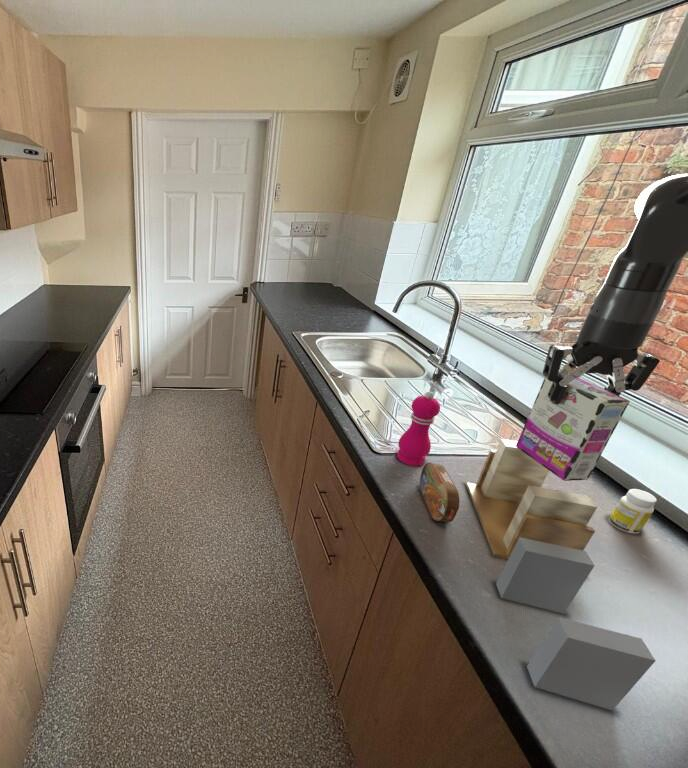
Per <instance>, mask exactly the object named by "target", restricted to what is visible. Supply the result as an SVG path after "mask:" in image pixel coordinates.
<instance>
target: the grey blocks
mask: <svg viewBox="0 0 688 768" xmlns="http://www.w3.org/2000/svg"><path fill="white" fill-rule="evenodd" d="M594 568H595V564H594V562H593V561H592V559H591V558H590V556H589V554H588V553H587V551H586V550H583V551H582V550H577V549H573V548H568V547H563V546H558V545H554V544H549V543H544V542H540V541H535V540H530V539H525V538H521V537H519V539H518V541H517V543H516V545H515V547H514V549H513V551H512V553H511V555H510V557H509V559H507V561H506V563H505V565H504V567H503V568H502V571H501V573H500V575H499V577H498V579H497V580H496V583H495V585H496V588H497V590H498V594H499V596H500V598H501V599H504V600H508V601H511V602H516V603H519V604H524V605H528V606H531V607H535V608H540V609H543V610H544V609H545V610H547V611H551V612H556V613H560V614H562V615H563V614H565V613H566V612H567V610H568V608H569V607H570V605H571V603H572V602H573V600H574V599H575V597H576V595H577V594H578V593H579V591H580V590H581V588H582V586H583V585H584V583H585V582H586V580H587V579H588V577H589V576H590V574H591V573H592V571H593V569H594ZM655 662H656V659H655V658H654V655H653V654H652V653H651V651H650V649H649V647H648V646H647V645H646V643H645V641H644V640H643V639H642V638H640V637H637V636H634V635H629V634H625V633H622V632H618V631H615V630H610V629H606V628H602V627H599V626H594V625H592V624H591V625H590V624H586V623H582V622H578V621H575V620H571V619H567V618H563V617H557V618H556V619H555V621H554V623H553V625H552V626H551V628H550V629H549V631H548V633H547V634H546V636H545V637H544V639H543V640H542V642H541V644H540V645H539V647H538V648H537V650H536V651H535V653H534V655H533V656H532V658H531V659H530V660H529V662H528V664H527V665H526V668H527V671H528V674H529V676H530V679H531V682H532V684H533V687H534V688H536V689H539V690H543V691H547V692H550V693H553V694H555V695H559V696H563V697H567V698H570V699H572V700H576V701H580V702H583V703H586V704H590V705H592V706H595V707H599V708H603V709H606V710H609V711H614V710H615V708H616V707H617V706H618V705H619V704H620V703H621V701H623V699H624V698H625V697H626V696H627V695H628V693H629V692H630V691H631V690H632V689H633V688H634V687H635V686H636V684H637V683H638V682H639V681H640V680H641V678H642V677H643V676H644V675H645V674H646V673H647V672H648V670H649V669H651V667H652V666H653V665H654V663H655Z"/></svg>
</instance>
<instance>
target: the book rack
mask: <svg viewBox="0 0 688 768" xmlns="http://www.w3.org/2000/svg"><path fill="white" fill-rule="evenodd" d="M517 442H518V440H512V439H505V438H500V440H499V443H498V445H497V448H496V449H489V452H488V454H487V456H486V459H485V461H484V464H483V466H482V469H481V471H480V473H479V476H478V479H477V481H476V483H474V482H473V483H472V482H466V484H465V487H466V489H467V491H468V494H469V498H470V499H471V502H472V504H473V507H474V509H475V512H476V514H477V517H478V519H479V522H480V524H481V526H482V530H483V532H484V535H485V538H486V540H487V542H488V545H489V547H490V550H491V553H492V555H493V557H496V558H501V559H506V560H508V559H509V557H510V555H511V553H512V551H513V549H514V547H515V545H516V543H517V541H518V539H519V537H521V538H525V539H530V540H535V541H540V542H544V543H549V544H554V545H558V546H563V547H568V548H573V549H577V550H582V551H585V549H586V547H587V545H588V544H589V542H590V541H591V539H592V537H593V535H594V534H595V532H596V530H595V529H594V527H593V526H589V525H588V524H589V522H590V521H591V519H592V518H593V515H594V514H595V512H596V510H597V509H598V506H597V504H596V503H595V502H594V501H593V499H592V498H591V497H590V496H589V495H586V494H581V493H575V492H571V491H563V490H559V489H552V488H548V487H542V486H543V484H544V482H545V480H546V478H547V476H548V474H549V472H550V471H549V470H548V469H546V468H545V467H544V466H542V465H541V464H539V463H538V462H537V461H535V460H534V459H532V458H531V457H530V456H528V455H527V454H525V453H524V452H523V451H521V450H520V449H518V448H517V447H516V445H517Z"/></svg>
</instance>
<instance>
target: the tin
mask: <svg viewBox="0 0 688 768" xmlns="http://www.w3.org/2000/svg"><path fill="white" fill-rule="evenodd" d="M419 490H420V492H421V494H422V497H423V499H424V502H425V504H426V506H427V509H428V511H429V514H430V516H431V518H432V519H433V520H435V521H437V522H445V523H450V522H453V521H454V519H455V518H456V516H457V513H458V512H459V509H460V496H459V490H458V489H457V487H456V485H455V483H454V482H453V479H452V478H451V476H450V475H449V472H448V471H447V469H446V468H445V466H443V465H442V464H439V463H433V462H427V463H424V466H423V467H422V469H421V472H420V477H419Z"/></svg>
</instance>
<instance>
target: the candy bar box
mask: <svg viewBox="0 0 688 768" xmlns="http://www.w3.org/2000/svg"><path fill="white" fill-rule="evenodd" d="M552 383H553V382H552V381H549V380H548V379H547V378H546V377H545V376H544V379H543V381H542V383H541V385H540V388H539V389H538V390H539V391H538V393H537V394H536V395H537V396H536V398H535V400H534V401H533V402H534V403H533V405H532V407H531V409H530V412H529V414H528V416H527V418H526V421H525V424H524V426H523V428H522V431H521V432H520V435H519V438H518V440H517V441H518V442H517V445H516V447H517V448H518V449H520V450H521V451H523V452H524V453H525V454H527V455H528V456H530V457H531V458H532V459H534V460H535V461H537V462H538V463H539V464H541V465H542V466H544V467H545V468H546V469H548V470H549V472H550V473H552V474H554V475H555V476H556V477H558V478H559V479H561V480H562V481H564V482H569V481H586V480H589V479H590V477H591V475H592V473H593V471H594V469H595V467H596V465H597V463H598V462H599V459H600V458H601V456H602V454H603V452H604V450H605V448H606V446H607V445H608V443H609V440H610V439H611V437H612V435H613V433H614V432H615V430H616V429H617V426H618V424H619V422H620V421H621V419H622V417H623V415H624V413H625V411H626V409H627V408H628V406H629V404H630V402H631V401H630V400H629V399H627V398H624V397H622V396H620V395H619V396H618V395H616V394H613V393H611V392H609V391H607V390H605V389H604V388H603V387H600V386H598V385H596V384H593V383H591V382H589V381H587V380H585V379H582V378H581V377H579V378H575V379H574V380H572V381H571V382H570V383H569V384H567V385H566V386H567V389H566V391H565V393H564V395H563V397H562V399H561V402H560V404H553V403H552V402H551V401H550V399H549V398H548V395H547V394H548V392H549V390H550V387H551V385H552Z"/></svg>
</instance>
